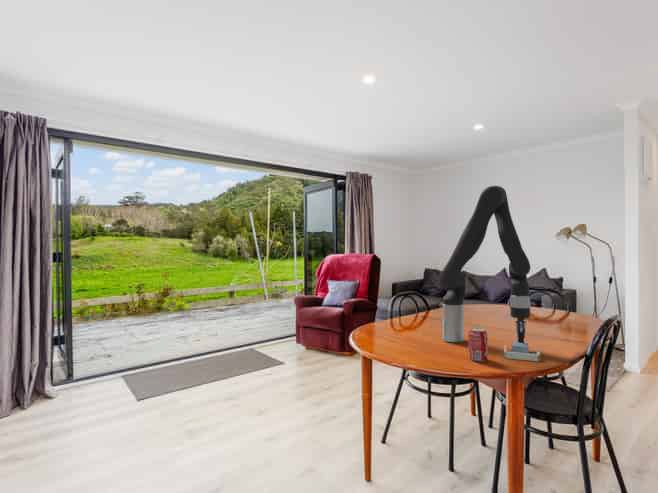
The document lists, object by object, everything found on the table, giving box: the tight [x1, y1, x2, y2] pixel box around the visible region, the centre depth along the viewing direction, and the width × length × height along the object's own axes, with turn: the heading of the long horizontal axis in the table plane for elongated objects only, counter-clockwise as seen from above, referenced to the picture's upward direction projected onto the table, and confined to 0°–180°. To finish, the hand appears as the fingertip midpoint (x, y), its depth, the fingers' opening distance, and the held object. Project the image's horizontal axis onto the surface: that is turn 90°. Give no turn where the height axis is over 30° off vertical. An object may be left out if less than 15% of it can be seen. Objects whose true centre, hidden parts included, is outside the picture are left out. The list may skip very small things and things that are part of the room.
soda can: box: [467, 327, 489, 363], centre depth 149 cm, size 7×7×12 cm
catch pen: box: [503, 344, 541, 362], centre depth 153 cm, size 13×11×2 cm
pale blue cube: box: [511, 341, 530, 354], centre depth 156 cm, size 6×6×4 cm
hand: (520, 346), depth 160 cm, fingers closed
